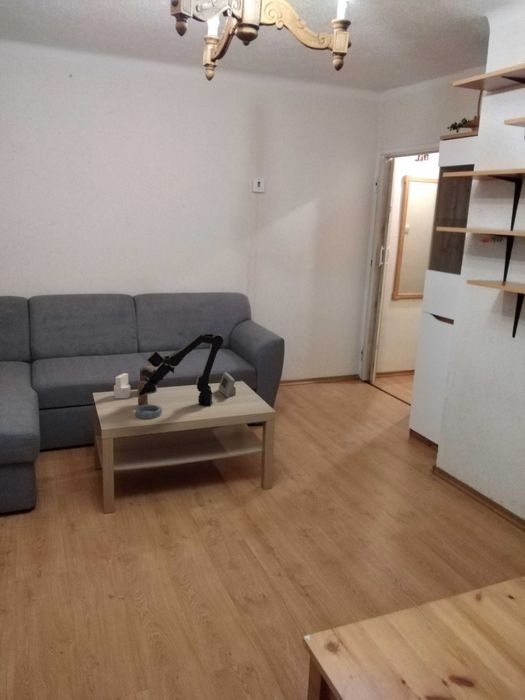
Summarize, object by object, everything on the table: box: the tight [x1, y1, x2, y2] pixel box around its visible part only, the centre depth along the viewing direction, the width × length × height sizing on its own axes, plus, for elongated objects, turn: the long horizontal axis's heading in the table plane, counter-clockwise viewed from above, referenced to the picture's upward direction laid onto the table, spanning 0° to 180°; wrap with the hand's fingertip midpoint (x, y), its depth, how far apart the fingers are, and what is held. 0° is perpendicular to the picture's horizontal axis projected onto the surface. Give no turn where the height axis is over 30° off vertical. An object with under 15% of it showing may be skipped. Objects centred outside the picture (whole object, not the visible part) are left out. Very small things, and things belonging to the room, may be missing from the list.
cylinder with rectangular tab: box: [113, 372, 132, 399], centre depth 305 cm, size 9×9×12 cm
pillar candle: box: [139, 365, 158, 394], centre depth 315 cm, size 10×10×15 cm
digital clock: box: [218, 371, 237, 398], centre depth 316 cm, size 16×9×11 cm, turn 9°
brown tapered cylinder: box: [137, 380, 149, 407], centre depth 291 cm, size 5×5×12 cm
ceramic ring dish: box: [134, 404, 163, 420], centre depth 281 cm, size 13×13×3 cm
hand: (139, 393), depth 291 cm, fingers closed on brown tapered cylinder, 5 cm apart
